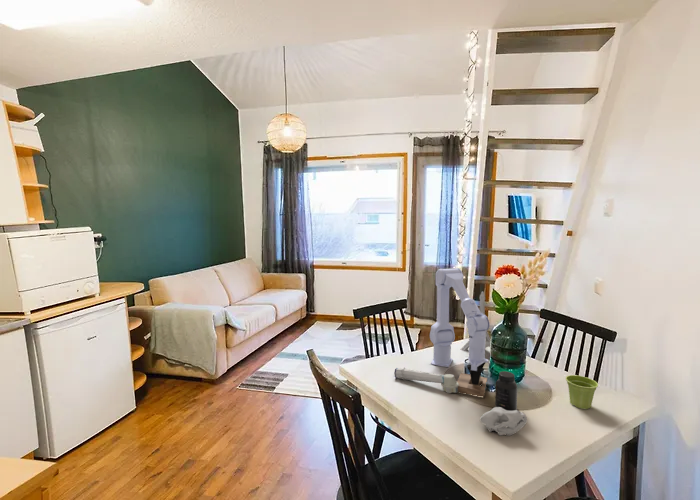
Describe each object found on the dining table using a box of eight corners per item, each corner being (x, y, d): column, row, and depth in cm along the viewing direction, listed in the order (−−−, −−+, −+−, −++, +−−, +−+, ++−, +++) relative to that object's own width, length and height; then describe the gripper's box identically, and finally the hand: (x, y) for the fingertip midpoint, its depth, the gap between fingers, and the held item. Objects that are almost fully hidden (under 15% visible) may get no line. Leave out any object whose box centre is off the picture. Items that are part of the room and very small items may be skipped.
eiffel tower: (479, 345, 177) (481, 288, 174) (501, 354, 165) (503, 293, 162) (460, 349, 171) (462, 290, 168) (481, 359, 159) (483, 295, 156)
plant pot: (567, 409, 117) (569, 384, 116) (561, 395, 126) (562, 373, 125) (600, 414, 114) (602, 389, 113) (591, 400, 123) (593, 377, 122)
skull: (477, 412, 111) (507, 391, 108) (497, 435, 109) (528, 415, 106) (478, 424, 103) (511, 402, 100) (499, 449, 102) (533, 428, 99)
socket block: (460, 378, 139) (461, 372, 139) (487, 384, 135) (487, 378, 135) (455, 391, 129) (455, 385, 129) (483, 398, 124) (483, 391, 124)
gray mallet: (398, 365, 143) (458, 371, 130) (400, 381, 143) (460, 388, 130) (393, 370, 139) (455, 376, 125) (395, 386, 139) (457, 394, 126)
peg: (471, 386, 133) (472, 368, 133) (480, 388, 132) (481, 370, 131) (470, 389, 131) (470, 372, 130) (479, 391, 129) (480, 373, 128)
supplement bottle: (499, 400, 123) (501, 367, 122) (519, 407, 118) (521, 374, 117) (491, 407, 118) (492, 374, 117) (512, 415, 113) (513, 380, 112)
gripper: (486, 355, 121) (484, 392, 123) (490, 342, 134) (489, 376, 135) (465, 352, 125) (464, 387, 126) (471, 339, 137) (470, 372, 139)
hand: (475, 381), depth 131 cm, fingers open, 4 cm apart
